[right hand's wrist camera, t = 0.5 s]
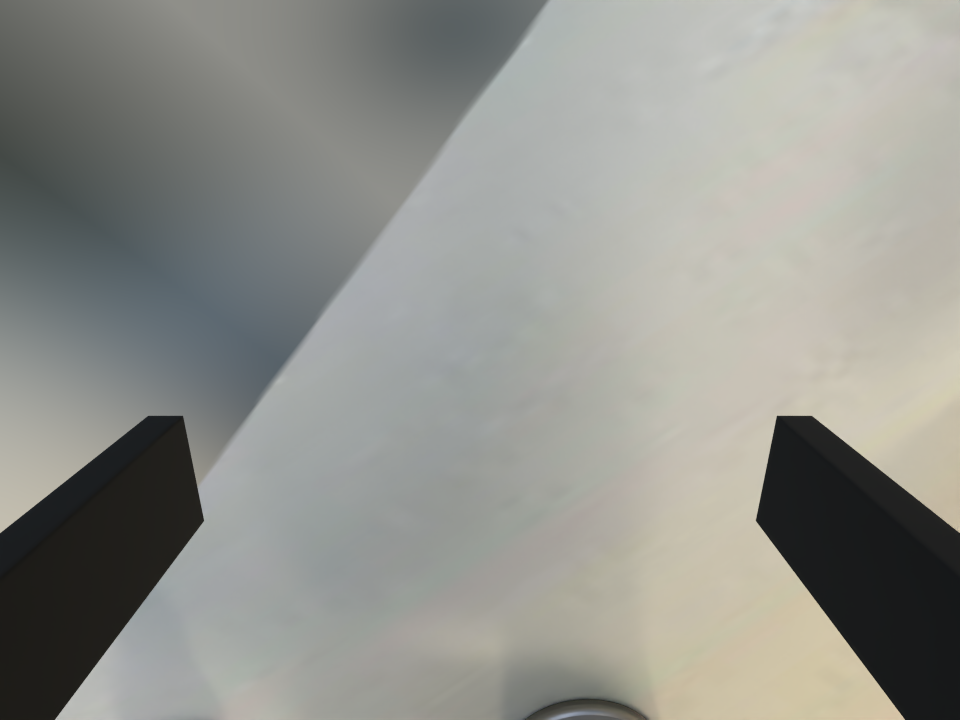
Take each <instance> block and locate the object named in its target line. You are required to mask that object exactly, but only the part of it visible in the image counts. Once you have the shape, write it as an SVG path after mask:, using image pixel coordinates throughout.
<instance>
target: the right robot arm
mask: <svg viewBox="0 0 960 720" xmlns="http://www.w3.org/2000/svg"><path fill="white" fill-rule="evenodd" d="M203 521H204V518H203V513H202V508H201V503H200V498H199V493H198V488H197V484H196V478H195V474H194V469H193V464H192V459H191V453H190V449H189V444H188V439H187V434H186V429H185V424H184V419H183V416H148V417H146V418H145V419H144V420H143V421H141V422H140V423H139V424H137V425H136V426H135V427H134V428H132V429H131V430H130V431H129V432H127V433H126V434H125V435H124V436H122V437H121V438H120V439H119V440H117V441H116V442H115V443H114V444H112V445H111V446H110V447H108V448H107V449H106V450H105V451H103V452H102V453H101V454H100V455H98V456H97V457H96V458H95V459H93V460H92V461H91V462H90V463H88V464H87V465H86V466H84V467H83V468H82V469H81V470H79V471H78V472H77V473H76V474H74V475H73V476H72V477H71V478H69V479H68V480H67V481H66V482H64V483H63V484H62V485H61V486H59V487H58V488H57V489H55V490H54V491H53V492H52V493H50V494H49V495H48V496H47V497H45V498H44V499H43V500H42V501H40V502H39V503H38V504H37V505H35V506H34V507H33V508H32V509H30V510H29V511H28V512H26V513H25V514H24V515H23V516H21V517H20V518H19V519H18V520H16V521H15V522H14V523H13V524H11V525H10V526H9V527H8V528H6V529H5V530H4V531H2V532H1V533H0V720H55V719H56V717H57V716H58V715H59V713H60V712H61V711H62V709H63V708H64V707H65V705H66V704H67V703H68V701H69V700H70V699H71V697H72V696H73V695H74V693H75V692H76V691H77V689H78V688H79V687H80V685H81V684H82V683H83V681H84V680H85V679H86V677H87V676H88V675H89V673H90V672H91V671H92V669H93V668H94V667H95V665H96V664H97V663H98V661H99V660H100V659H101V657H102V656H103V655H104V653H105V652H106V651H107V649H108V648H109V647H110V645H111V644H112V643H113V641H114V640H115V639H116V637H117V636H118V635H119V633H120V632H121V631H122V629H123V628H124V627H125V625H126V624H127V623H128V621H129V620H130V619H131V617H132V616H133V615H134V613H135V612H136V611H137V609H138V608H139V607H140V605H141V604H142V603H143V601H144V600H145V599H146V597H147V596H148V595H149V593H150V592H151V591H152V589H153V588H154V587H155V585H156V584H157V583H158V581H159V580H160V579H161V577H162V576H163V575H164V573H165V572H166V571H167V569H168V568H169V567H170V565H171V564H172V563H173V561H174V560H175V559H176V557H177V556H178V555H179V553H180V552H181V551H182V549H183V548H184V547H185V545H186V544H187V543H188V541H189V540H190V539H191V537H192V536H193V535H194V533H195V532H196V531H197V529H198V528H199V527H200V525H201V524H202V523H203ZM756 521H757V523H758V524H759V525H760V527H761V528H762V529H763V531H764V532H765V533H766V535H767V536H768V537H769V539H770V540H771V541H772V543H773V544H774V545H775V547H776V548H777V549H778V551H779V552H780V553H781V555H782V556H783V557H784V559H785V560H786V561H787V563H788V564H789V565H790V567H791V568H792V569H793V571H794V572H795V573H796V575H797V576H798V577H799V579H800V580H801V581H802V583H803V584H804V585H805V587H806V588H807V589H808V591H809V592H810V593H811V595H812V596H813V597H814V599H815V600H816V601H817V603H818V604H819V605H820V607H821V608H822V609H823V611H824V612H825V613H826V615H827V616H828V617H829V619H830V620H831V621H832V623H833V624H834V625H835V627H836V628H837V629H838V631H839V632H840V633H841V635H842V636H843V637H844V639H845V640H846V641H847V643H848V644H849V645H850V647H851V648H852V649H853V651H854V652H855V653H856V655H857V656H858V657H859V659H860V660H861V661H862V663H863V664H864V665H865V667H866V668H867V669H868V671H869V672H870V673H871V675H872V676H873V677H874V679H875V680H876V681H877V683H878V684H879V685H880V687H881V688H882V689H883V691H884V692H885V693H886V695H887V696H888V697H889V699H890V700H891V701H892V703H893V704H894V705H895V707H896V708H897V709H898V711H899V712H900V713H901V715H902V716H903V717H904V719H905V720H960V533H959V532H958V531H956V530H955V529H954V528H952V527H951V526H950V525H949V524H947V523H946V522H945V521H944V520H942V519H941V518H940V517H939V516H937V515H936V514H935V513H934V512H932V511H931V510H930V509H928V508H927V507H926V506H925V505H923V504H922V503H921V502H920V501H918V500H917V499H916V498H915V497H913V496H912V495H911V494H910V493H908V492H907V491H906V490H905V489H903V488H902V487H901V486H899V485H898V484H897V483H896V482H894V481H893V480H892V479H891V478H889V477H888V476H887V475H886V474H884V473H883V472H882V471H881V470H879V469H878V468H877V467H876V466H874V465H873V464H872V463H870V462H869V461H868V460H867V459H865V458H864V457H863V456H862V455H860V454H859V453H858V452H857V451H855V450H854V449H853V448H852V447H850V446H849V445H848V444H846V443H845V442H844V441H843V440H841V439H840V438H839V437H838V436H836V435H835V434H834V433H833V432H831V431H830V430H829V429H828V428H826V427H825V426H824V425H823V424H821V423H820V422H819V421H817V420H816V419H815V418H814V417H812V416H777V419H776V424H775V429H774V434H773V439H772V444H771V449H770V453H769V458H768V463H767V468H766V473H765V478H764V483H763V488H762V493H761V498H760V503H759V508H758V513H757V518H756ZM526 720H646V719H645V718H644V717H643V716H641V715H640V714H638V713H637V712H635V711H634V710H632V709H630V708H628V707H625V706H623V705H620V704H616V703H613V702H608V701H602V700H573V701H567V702H562V703H558V704H555V705H552V706H549V707H546V708H544V709H542V710H540V711H538V712H536V713H534V714H533V715H531V716H530V717H528V718H527V719H526Z"/></svg>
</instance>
